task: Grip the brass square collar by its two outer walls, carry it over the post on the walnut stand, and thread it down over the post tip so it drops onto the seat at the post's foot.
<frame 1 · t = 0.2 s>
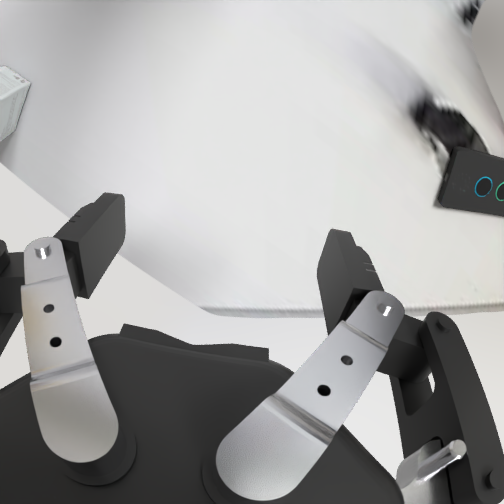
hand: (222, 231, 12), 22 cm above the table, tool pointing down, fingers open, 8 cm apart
smart home device: (498, 183, 32), on the table
skincare box: (11, 99, 28), on the table
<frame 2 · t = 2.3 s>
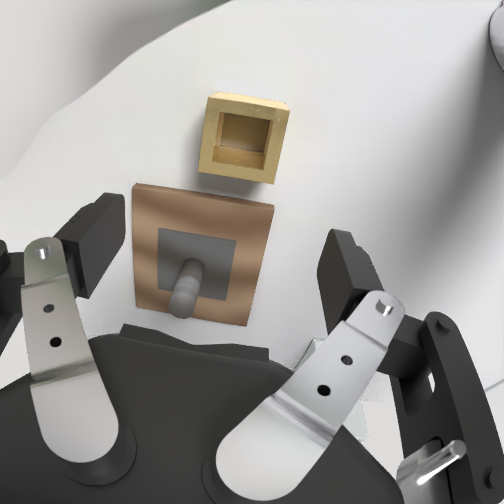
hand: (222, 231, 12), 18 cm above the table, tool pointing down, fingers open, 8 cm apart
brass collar: (245, 128, 27), on the table
post stand: (196, 259, 35), on the table
skincare box: (321, 357, 44), on the table
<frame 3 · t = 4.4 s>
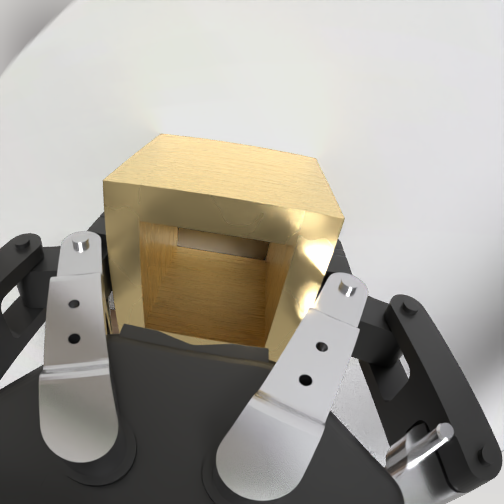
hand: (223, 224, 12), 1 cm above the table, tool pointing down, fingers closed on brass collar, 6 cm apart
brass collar: (226, 213, 13), on the table, touching gripper
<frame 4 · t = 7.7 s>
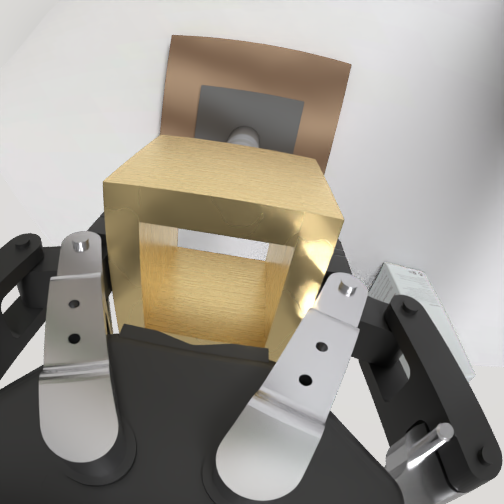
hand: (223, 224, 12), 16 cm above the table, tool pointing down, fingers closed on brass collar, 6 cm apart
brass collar: (226, 214, 13), point 15 cm above the table, touching gripper
post stand: (245, 136, 25), on the table
skincare box: (388, 292, 34), on the table
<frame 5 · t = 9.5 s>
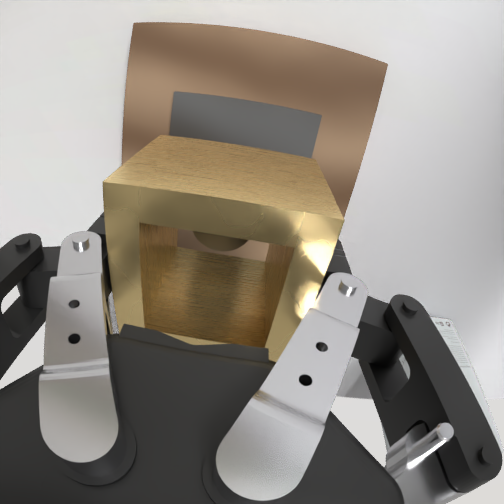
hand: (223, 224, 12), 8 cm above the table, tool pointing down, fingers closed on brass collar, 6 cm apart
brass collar: (226, 214, 13), point 7 cm above the table, touching gripper
post stand: (238, 161, 19), on the table
skincare box: (409, 342, 28), on the table
when the fingers open (4 cm above the table, at t = 10.8 s): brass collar drops 1 cm, resting on post stand.
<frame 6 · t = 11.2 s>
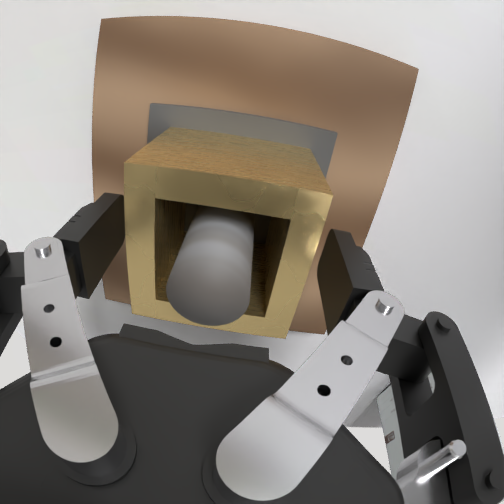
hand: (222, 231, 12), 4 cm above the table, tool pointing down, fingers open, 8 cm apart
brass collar: (229, 199, 14), point 1 cm above the table, touching post stand
post stand: (232, 188, 16), on the table
skincare box: (420, 374, 25), on the table
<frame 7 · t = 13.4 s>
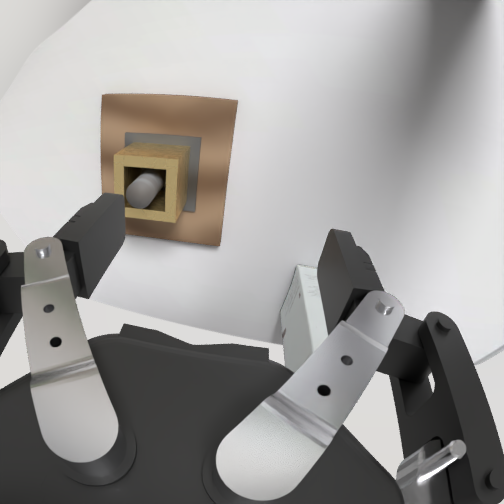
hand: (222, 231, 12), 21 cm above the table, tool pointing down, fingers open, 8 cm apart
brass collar: (159, 172, 31), point 1 cm above the table, touching post stand
post stand: (163, 168, 32), on the table
skincare box: (309, 292, 41), on the table
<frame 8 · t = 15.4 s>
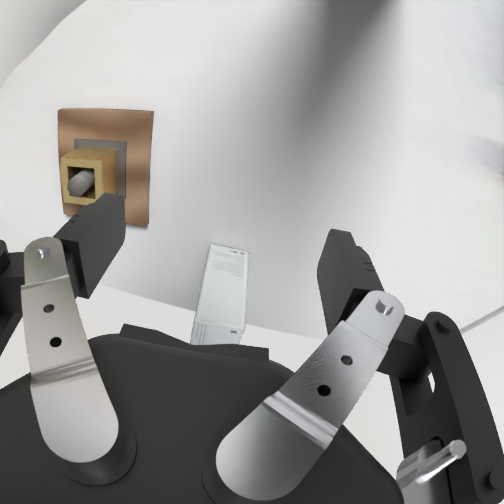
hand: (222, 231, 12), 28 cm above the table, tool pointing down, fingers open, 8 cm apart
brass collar: (98, 168, 38), point 1 cm above the table, touching post stand
post stand: (103, 165, 39), on the table
skincare box: (225, 268, 48), on the table
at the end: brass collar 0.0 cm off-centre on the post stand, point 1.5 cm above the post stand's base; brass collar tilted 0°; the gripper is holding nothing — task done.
